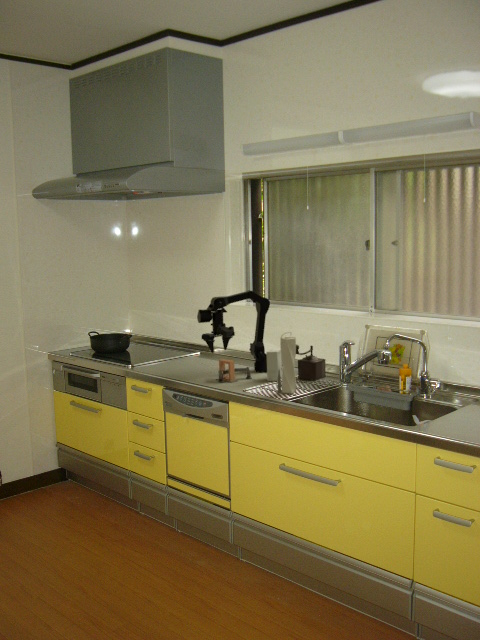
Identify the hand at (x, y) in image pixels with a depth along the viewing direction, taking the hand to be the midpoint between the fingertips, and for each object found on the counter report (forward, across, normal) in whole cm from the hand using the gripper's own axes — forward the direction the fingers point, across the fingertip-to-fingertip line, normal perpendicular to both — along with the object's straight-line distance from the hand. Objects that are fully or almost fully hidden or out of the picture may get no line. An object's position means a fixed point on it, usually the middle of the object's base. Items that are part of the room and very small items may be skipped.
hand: (218, 351), depth 346 cm
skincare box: (+13, +11, -28) cm, 33 cm away
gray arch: (+13, -2, -13) cm, 19 cm away
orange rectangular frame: (+13, -5, -11) cm, 17 cm away
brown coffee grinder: (+13, +23, -40) cm, 48 cm away
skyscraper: (+14, -4, -50) cm, 52 cm away
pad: (+13, -5, -11) cm, 17 cm away
